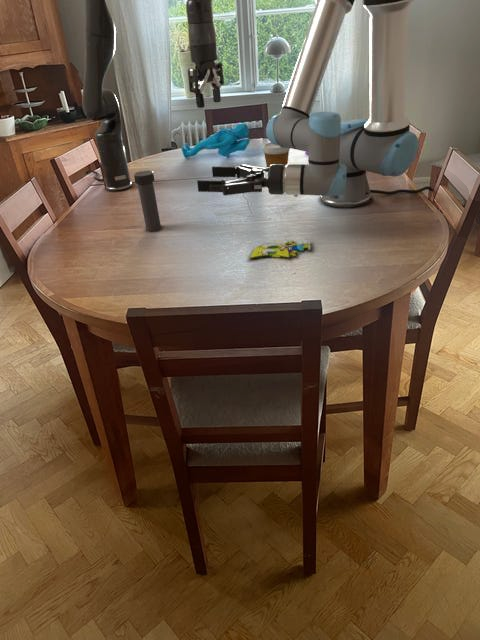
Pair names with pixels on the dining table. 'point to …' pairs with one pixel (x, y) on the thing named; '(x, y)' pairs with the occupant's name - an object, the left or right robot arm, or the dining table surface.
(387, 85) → the right robot arm
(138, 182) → the lid
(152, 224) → the jar
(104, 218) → the dining table surface
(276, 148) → the disposable coffee cup
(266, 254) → the toy
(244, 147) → the toy
